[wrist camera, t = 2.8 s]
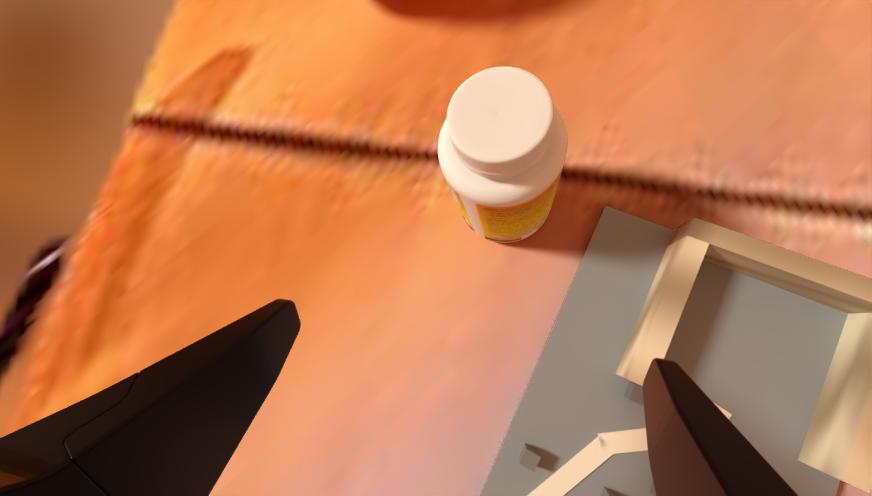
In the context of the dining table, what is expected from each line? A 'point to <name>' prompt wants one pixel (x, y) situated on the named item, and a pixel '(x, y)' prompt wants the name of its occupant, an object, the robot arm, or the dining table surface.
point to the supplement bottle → (503, 152)
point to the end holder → (821, 282)
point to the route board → (690, 347)
